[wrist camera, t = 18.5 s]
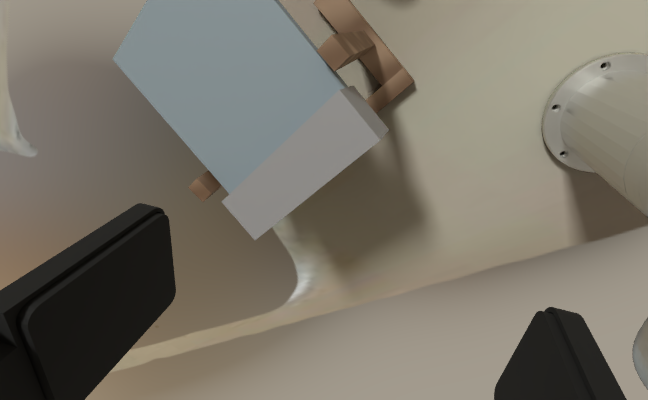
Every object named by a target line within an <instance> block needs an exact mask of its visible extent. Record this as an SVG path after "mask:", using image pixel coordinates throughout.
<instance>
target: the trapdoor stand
mask: <svg viewBox="0 0 648 400" xmlns="http://www.w3.org/2000/svg"><path fill="white" fill-rule="evenodd" d="M314 4H315V6H316V7H317V8H318V9H319V10H320V12H321V13H322V14H323V15H324V16H325V18H326V19H327V20H328V21H329V22H330V24H331V25H332V26H333V27H334V29H335V30H336V31H337V32H338V33H339V34H334V35H331V36H330V37H329V38H328V39H327V40H326V41H325V43H324V44H323V45H322V46H321V47H320V48H319V49H318V50H317V52H318V53H319V54H320V55H321V56H322V58H323V59H324V60H325V61H326V62H327V63H328V65H329V66H330V67H331V68H332V69H333V70H334V71H336V70H338V69H340V68H342V67H344V66H345V65H347V64H349V63H351V62H353V61H354V60H356V59H358V58H359V59H360V60H361V61H362V62H363V64H364V65H365V66H366V67H367V68H368V70H369V71H370V72H371V73H372V74H373V76H374V77H375V78H376V79H377V80H378V82H379V83H380V84H381V85H382V86H381V87H380V88H379V89H378V90H377V91H375V92H374V93H373V94H372V95H371V96H370V97H369V98H368V99H366V100H365V101H366V102H367V103H368V104H369V106H370V107H371V108H372V109H373V111H374V112H375V113H377V112H379V111H380V110H381V109H382V108H383V107H384V106H386V105H387V104H388V103H389V102H390V101H392V100H393V99H394V98H395V97H396V96H397V95H399V94H400V93H401V92H402V91H403V90H404V89H406V88H407V87H408V86H409V85H410V84H412V83H413V82H414V80H413V78H412V77H411V76H410V75H409V73H408V72H407V71H406V70H405V68H404V67H403V66H402V65H401V63H400V62H399V61H398V60H397V58H396V57H395V56H394V55H393V54H392V52H391V51H390V50H389V49H388V47H387V46H386V45H385V44H384V42H383V41H382V40H381V39H380V37H379V36H378V35H377V34H376V32H375V31H374V30H373V29H372V27H371V26H370V25H369V24H368V22H367V21H366V20H365V19H364V18H363V16H362V15H361V14H360V13H359V11H358V10H357V9H356V8H355V6H354V5H353V4H352V3H351V1H350V0H316V1H315V2H314ZM221 187H222V185H221V184H220V183H219V181H218V180H217V179H216V178H215V177H214V176H213V175H212V173H211V172H210V171H207V172H206V173H204V174H203V175H201V176H200V177H198V178H197V179H196V180H195V181H194V182H193V183H192V184H191V185H190V187H189V189H190V190H191V191H192V192H193V193H194V194H195V195H196V196H197V197H198V198H200V200H201V201H202V202H204V201H205V200H206V199H207V198H208V197H210V196H211V195H212V194H213V193H215V192H216V191H217V190H218V189H219V188H221Z"/></svg>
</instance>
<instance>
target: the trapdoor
mask: <svg viewBox="0 0 648 400" xmlns="http://www.w3.org/2000/svg"><path fill="white" fill-rule="evenodd" d="M317 50H318V49H317V48H316V46H315V45H314V44H313V43H312V41H311V40H310V39H309V38H308V36H307V35H306V34H305V33H304V31H303V30H302V29H301V28H300V27H299V25H298V24H297V23H296V22H295V20H294V19H293V18H292V17H291V15H290V14H289V13H288V12H287V10H286V9H285V8H284V7H283V5H282V4H281V3H280V2H279V1H278V0H147V1H146V4H145V5H144V7H143V8H142V10H141V12H140V13H139V15H138V17H137V19H136V20H135V22H134V24H133V25H132V27H131V29H130V31H129V32H128V34H127V36H126V37H125V39H124V41H123V43H122V44H121V46H120V48H119V50H118V51H117V53H116V55H115V56H114V58H113V60H114V62H116V64H117V65H118V66H119V67H120V68H121V70H122V71H123V72H124V73H125V74H126V75H127V77H129V79H130V80H131V81H132V82H133V83H134V85H135V86H136V87H137V88H138V89H139V90H140V92H141V93H142V94H143V95H144V96H145V97H146V98H147V100H148V101H149V102H150V103H151V104H152V105H153V106H154V108H155V109H156V110H157V111H158V112H159V113H160V115H161V116H162V117H163V118H164V119H165V120H166V121H167V123H168V124H169V125H170V126H171V127H172V128H173V129H174V131H175V132H176V133H177V134H178V135H179V136H180V138H181V139H182V140H183V141H184V142H185V143H186V145H187V146H188V147H189V148H190V149H191V150H192V151H193V153H194V154H195V155H196V156H197V157H198V158H199V160H200V161H201V162H202V163H203V164H204V165H205V166H206V168H207V169H208V170H209V171H210V172H211V173H212V175H213V176H214V177H215V178H216V179H217V180H218V181H219V183H220V184H221V185H222V186H223V187H224V188H225V190H226V191H227V192H228V193H229V195H228V196H227V197H226V198H225V199H224V200H223V201H222V203H223V204H224V205H225V206H226V208H227V209H228V210H229V211H230V212H231V213H232V214H233V216H234V217H235V218H236V219H237V220H238V221H239V222H240V224H241V225H242V226H243V227H244V228H245V229H246V231H247V232H248V233H249V234H250V235H251V236H252V237H253V239H254V240H256V239H257V238H259V237H260V236H261V235H262V234H264V233H265V232H266V231H267V230H268V229H270V228H271V227H272V226H274V225H275V224H276V223H277V222H279V221H280V220H281V219H282V218H284V217H285V216H286V215H287V214H289V213H290V212H291V211H292V210H294V209H295V208H296V207H297V206H299V205H300V204H301V203H302V202H304V201H305V200H306V199H307V198H309V197H310V196H311V195H312V194H314V193H315V192H316V191H317V190H319V189H320V188H321V187H322V186H324V185H325V184H326V183H327V182H329V181H330V180H331V179H332V178H334V177H335V176H336V175H337V174H339V173H340V172H341V171H342V170H344V169H345V168H346V167H347V166H349V165H350V164H351V163H352V162H354V161H355V160H356V159H357V158H359V157H360V156H361V155H362V154H364V153H365V152H366V151H367V150H369V149H370V148H371V147H372V146H374V145H375V144H376V143H377V142H379V141H380V140H381V139H382V138H383V136H384V135H385V134H386V133H387V132H388V131H389V129H388V128H387V127H386V126H385V124H384V123H383V122H382V121H381V119H380V118H379V117H378V116H377V114H376V113H375V112H374V111H373V109H372V108H371V107H370V106H369V104H368V103H367V102H366V101H365V99H364V98H363V97H362V96H361V95H360V93H359V92H358V91H357V90H356V88H355V87H354V86H350V87H348V86H347V85H346V84H345V82H344V81H343V80H342V79H341V77H340V76H339V75H338V74H337V72H336V71H334V70H333V69H332V68H331V67H330V66H329V65H328V63H327V62H326V61H325V60H324V59H323V58H322V56H321V55H320V54H319V53H318V52H317Z"/></svg>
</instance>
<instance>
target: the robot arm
mask: <svg viewBox="0 0 648 400" xmlns="http://www.w3.org/2000/svg"><path fill="white" fill-rule="evenodd" d="M602 63H604V67H602V68H601V65H602ZM553 105H556V108H554V109H552V107H553ZM542 133H543V138H544V141H545V143H546V145H547V147H548V149H549V150H550V151H551V153H552V154H553V155H554V156H555V157H556V158H557V159H558V160H559V161H561V162H562V163H564V164H565V165H567V166H569V167H571V168H574V169H576V170H579V171H585V172H591V173H597V174H599V175H600V176H601V177H602V178H603V179H604V180H605V181H606V182H608V183H609V184H610V185H611V186H612V187H613V188H614V189H616V190H617V191H618V192H619V193H620V194H621V195H622V196H623V197H625V198H626V199H627V200H628V201H629V202H630V203H631V204H633V205H634V206H635V207H636V208H637V209H638V210H640V211H641V212H642V213H643V214H644V215H646V216H647V217H648V55H646V54H639V53H618V54H613V55H608V56H604V57H601V58H599V59H596V60H593V61H591V62H589V63H587V64H585V65H583V66H582V67H580V68H578V69H577V70H575V71H574V72H573V73H571V74H570V75H569V76H567V77H566V78H565V79H564V80H563V81H562V82H561V83H560V85H559V86H558V87H557V88H556V89H555V91H554V92H553V94H552V95H551V97H550V98H549V100H548V103H547V105H546V107H545V110H544V114H543V118H542ZM562 151H564V153H562V154H560V153H561V152H562ZM175 293H176V287H175V278H174V267H173V257H172V246H171V236H170V226H169V219H168V217H167V216H166V215H165V214H164V211H163V210H162V209H161V208H158V207H154V206H150V205H146V204H141V203H140V204H137V205H135V206H133V207H132V208H130V209H128V210H127V211H125V212H124V213H122V214H121V215H119V216H117V217H116V218H114V219H113V220H111V221H110V222H108V223H106V224H105V225H103V226H102V227H100V228H98V229H97V230H95V231H94V232H92V233H90V234H89V235H87V236H86V237H84V238H83V239H81V240H79V241H78V242H77V243H75V244H73V245H72V246H70V247H68V248H67V249H65V250H64V251H62V252H61V253H59V254H57V255H56V256H54V257H53V258H51V259H49V260H48V261H46V262H45V263H43V264H42V265H40V266H38V267H37V268H35V269H34V270H32V271H30V272H29V273H27V274H26V275H24V276H23V277H21V278H19V279H18V280H16V281H15V282H13V283H11V284H10V285H8V286H7V287H5V288H4V289H2V290H0V400H85V398H86V397H87V396H88V395H89V394H90V393H91V392H92V391H93V390H94V388H95V387H96V386H97V385H98V384H99V383H100V382H101V381H102V380H103V378H104V377H105V376H106V375H107V374H108V373H109V372H110V371H111V370H112V369H113V367H114V366H115V365H116V364H117V363H118V362H119V361H120V360H121V359H122V357H123V356H124V355H125V354H126V353H127V352H128V351H129V350H130V349H131V347H132V346H133V345H134V344H135V343H136V342H137V341H138V339H140V337H141V336H142V335H143V334H144V333H145V332H146V331H147V330H148V329H149V327H150V326H151V325H152V324H153V323H154V322H155V321H156V320H157V318H158V317H159V316H160V315H161V314H162V313H163V312H164V311H165V310H166V309H167V307H168V306H169V305H170V304H171V302H172V301H173V299H174V297H175ZM633 362H634V365H635V368H636V371H637V373H638V375H639V377H640V379H641V381H642V382H643V384H644V385H645V386H646V388H647V389H648V318H647V319H646V321H645V322H644V324H643V325H642V327H641V329H640V330H639V332H638V334H637V336H636V338H635V341H634V345H633ZM494 400H627V399H626V398H625V396H624V394H623V392H622V390H621V388H620V386H619V385H618V383H617V381H616V379H615V377H614V375H613V373H612V371H611V369H610V368H609V366H608V364H607V362H606V360H605V358H604V356H603V355H602V353H601V351H600V349H599V347H598V345H597V343H596V342H595V340H594V338H593V336H592V334H591V332H590V330H589V328H588V327H587V325H586V323H585V321H584V319H583V318H582V316H581V315H579V314H577V313H573V312H569V311H565V310H561V309H557V308H554V307H549V308H547V309H546V310H545V311H544V312H543V311H538V312H537V313H536V314H535V316H534V317H533V319H532V321H531V323H530V325H529V326H528V328H527V330H526V332H525V334H524V335H523V337H522V339H521V341H520V343H519V345H518V346H517V348H516V350H515V352H514V353H513V355H512V357H511V359H510V361H509V363H508V364H507V366H506V368H505V370H504V372H503V373H502V375H501V377H500V379H499V381H498V382H497V384H496V387H495V393H494Z"/></svg>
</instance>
